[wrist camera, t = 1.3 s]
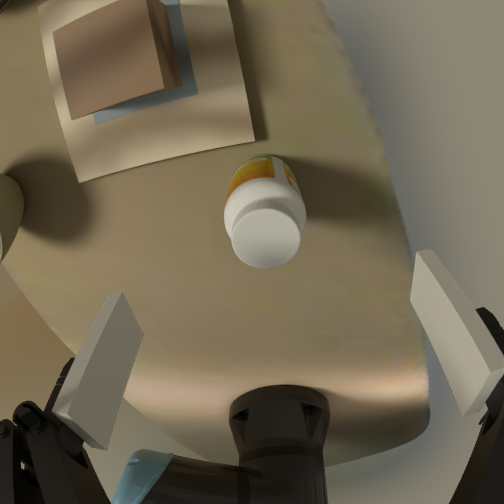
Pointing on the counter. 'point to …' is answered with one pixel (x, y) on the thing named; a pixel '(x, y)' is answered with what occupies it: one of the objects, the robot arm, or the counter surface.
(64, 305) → the counter surface
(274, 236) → the supplement bottle
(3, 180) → the flower pot
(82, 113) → the walnut block
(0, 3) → the apothecary jar
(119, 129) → the tan flat sheet
